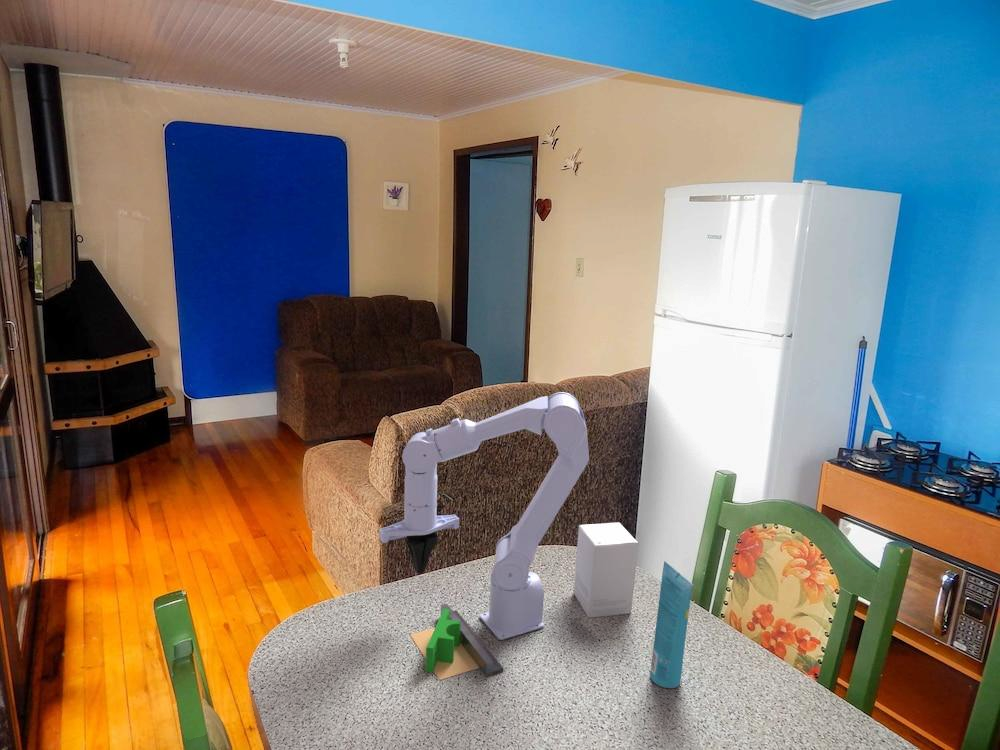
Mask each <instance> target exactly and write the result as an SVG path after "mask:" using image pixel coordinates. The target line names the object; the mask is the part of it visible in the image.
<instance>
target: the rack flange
mask: <svg viewBox="0 0 1000 750" xmlns="http://www.w3.org/2000/svg"><path fill="white" fill-rule="evenodd" d="M444 609H450V620H455V621H461V624H460V645H459V647H454V661H453V663H447V662H440V661H437V663H436V665H435V668H434V670H433V673H434V674H435V675H436V677H437V679H438V680H439V681H443V680H445V679H448V678H451V677H456V676H457V675H460V674H463V673H464V674H465V673H466V672H469V671H473V670H476V669H479V670H480V671H481V672H482V674H483V675H484V676H485V678H487V677H490V676H493V675H497V674H499V673H502V672H504V667H503V666H502V664H501V663H500V662H499V661H498V660H497V658H496V657H495V656H494V654H493V653H492V652H491V651H490V650H489V648H488V647H487V646H486V645H485V644H484V642H483V640H482V639H480V637H479V636H478V635H477V634H476V632H475V631H474V630H473V629H472V627H471V626H470V625H469V623H467V621H466V620H465V619H464V618H463V617H462V615H461V614H460V613H459V612H458V609H456V610H453V609H452V608H451V607H450V605H449V604H448V603H445V604H440V615H441V614H442V612H443V610H444ZM433 630H435V627H432V628H428V629H425V630H421V631H417V632H414V633H410V634H409V636H410V638H411V639H412V641H413V642H414V643H415V645H416V646H417V648H418V649H419V651H420V652H421V654H422V655H423V657H424V658H425V659H426V647H427V645H428V643H429V641H430V638H431V636H432V634H433V632H434V631H433Z"/></svg>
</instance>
